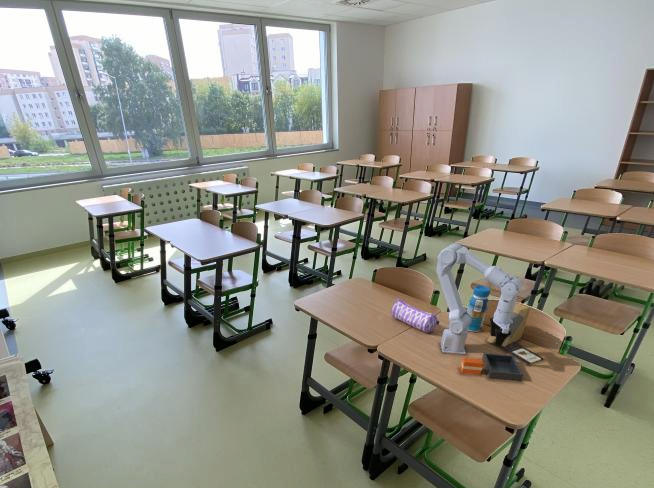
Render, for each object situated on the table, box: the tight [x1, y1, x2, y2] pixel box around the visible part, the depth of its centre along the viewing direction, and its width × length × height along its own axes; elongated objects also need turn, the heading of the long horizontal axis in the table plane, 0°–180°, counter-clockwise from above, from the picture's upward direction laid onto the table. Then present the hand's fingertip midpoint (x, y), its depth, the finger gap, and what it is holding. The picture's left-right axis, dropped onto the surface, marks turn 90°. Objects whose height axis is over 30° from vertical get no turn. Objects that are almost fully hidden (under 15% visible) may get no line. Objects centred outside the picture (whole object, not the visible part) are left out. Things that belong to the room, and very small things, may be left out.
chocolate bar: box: [492, 342, 544, 365], centre depth 167 cm, size 9×1×18 cm
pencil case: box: [391, 297, 440, 334], centre depth 184 cm, size 22×9×10 cm, turn 42°
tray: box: [481, 352, 524, 382], centre depth 154 cm, size 12×14×4 cm
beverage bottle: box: [466, 285, 491, 333], centre depth 179 cm, size 8×8×20 cm
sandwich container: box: [486, 302, 531, 347], centre depth 172 cm, size 9×15×15 cm, turn 129°
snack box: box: [460, 357, 484, 375], centre depth 152 cm, size 7×3×5 cm, turn 82°
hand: (495, 340), depth 156 cm, fingers open, 7 cm apart
